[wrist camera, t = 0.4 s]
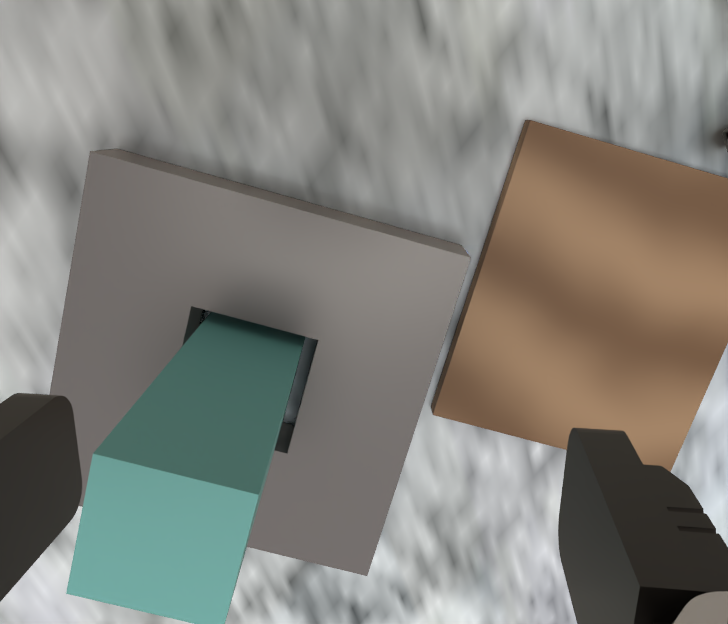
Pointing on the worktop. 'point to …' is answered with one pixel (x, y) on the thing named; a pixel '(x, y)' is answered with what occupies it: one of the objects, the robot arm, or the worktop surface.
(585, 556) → the robot arm
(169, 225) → the grey square socket plate
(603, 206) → the board
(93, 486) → the plug
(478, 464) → the worktop surface
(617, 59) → the worktop surface
